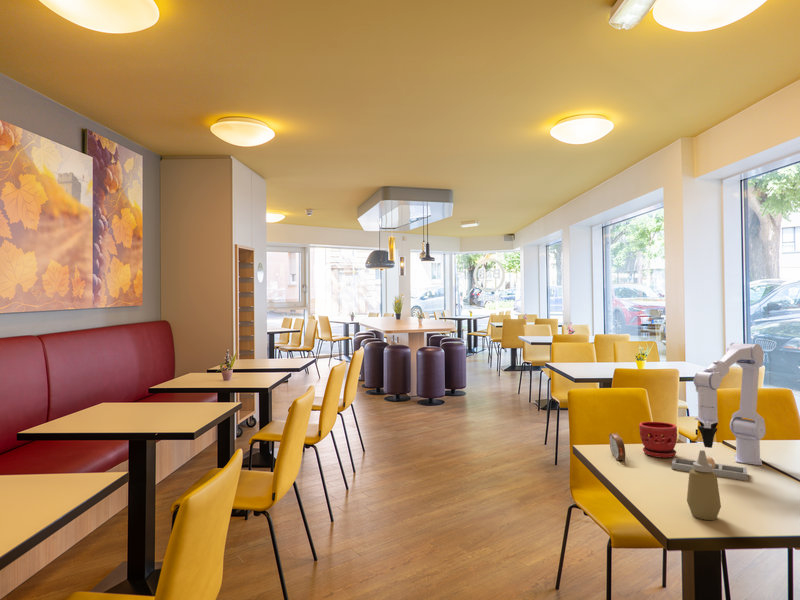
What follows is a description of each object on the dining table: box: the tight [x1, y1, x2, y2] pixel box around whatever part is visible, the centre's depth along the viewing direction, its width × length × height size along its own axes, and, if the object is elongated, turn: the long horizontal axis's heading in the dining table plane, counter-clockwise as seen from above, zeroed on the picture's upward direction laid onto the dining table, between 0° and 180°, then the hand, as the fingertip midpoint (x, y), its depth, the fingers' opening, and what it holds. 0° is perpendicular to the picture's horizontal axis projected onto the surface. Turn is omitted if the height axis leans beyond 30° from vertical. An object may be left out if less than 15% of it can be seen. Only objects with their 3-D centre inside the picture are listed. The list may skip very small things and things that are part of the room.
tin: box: [608, 432, 627, 461], centre depth 187 cm, size 15×3×8 cm, turn 168°
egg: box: [706, 456, 716, 469], centre depth 170 cm, size 4×4×4 cm
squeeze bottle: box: [686, 450, 722, 521], centre depth 133 cm, size 8×8×18 cm
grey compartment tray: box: [671, 457, 748, 482], centre depth 170 cm, size 8×22×2 cm, turn 56°
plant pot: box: [638, 421, 678, 459], centre depth 190 cm, size 13×13×12 cm
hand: (708, 444), depth 170 cm, fingers open, 7 cm apart
